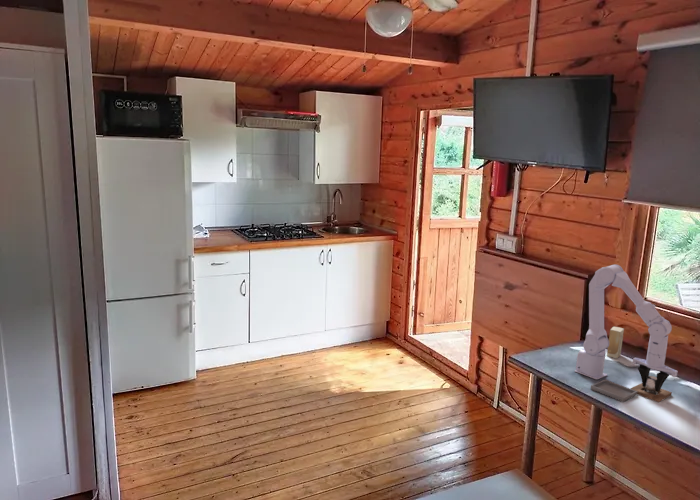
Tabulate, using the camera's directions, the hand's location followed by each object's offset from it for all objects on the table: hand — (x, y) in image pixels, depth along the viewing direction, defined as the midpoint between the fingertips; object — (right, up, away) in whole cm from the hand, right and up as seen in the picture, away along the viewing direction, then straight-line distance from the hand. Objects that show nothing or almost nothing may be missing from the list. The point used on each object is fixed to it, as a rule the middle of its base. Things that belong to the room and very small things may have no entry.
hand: (651, 388), depth 192 cm
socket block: (0, -2, 0) cm, 2 cm away
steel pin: (0, -2, 0) cm, 2 cm away
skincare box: (+5, +4, +37) cm, 38 cm away
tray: (-14, -2, 0) cm, 14 cm away
